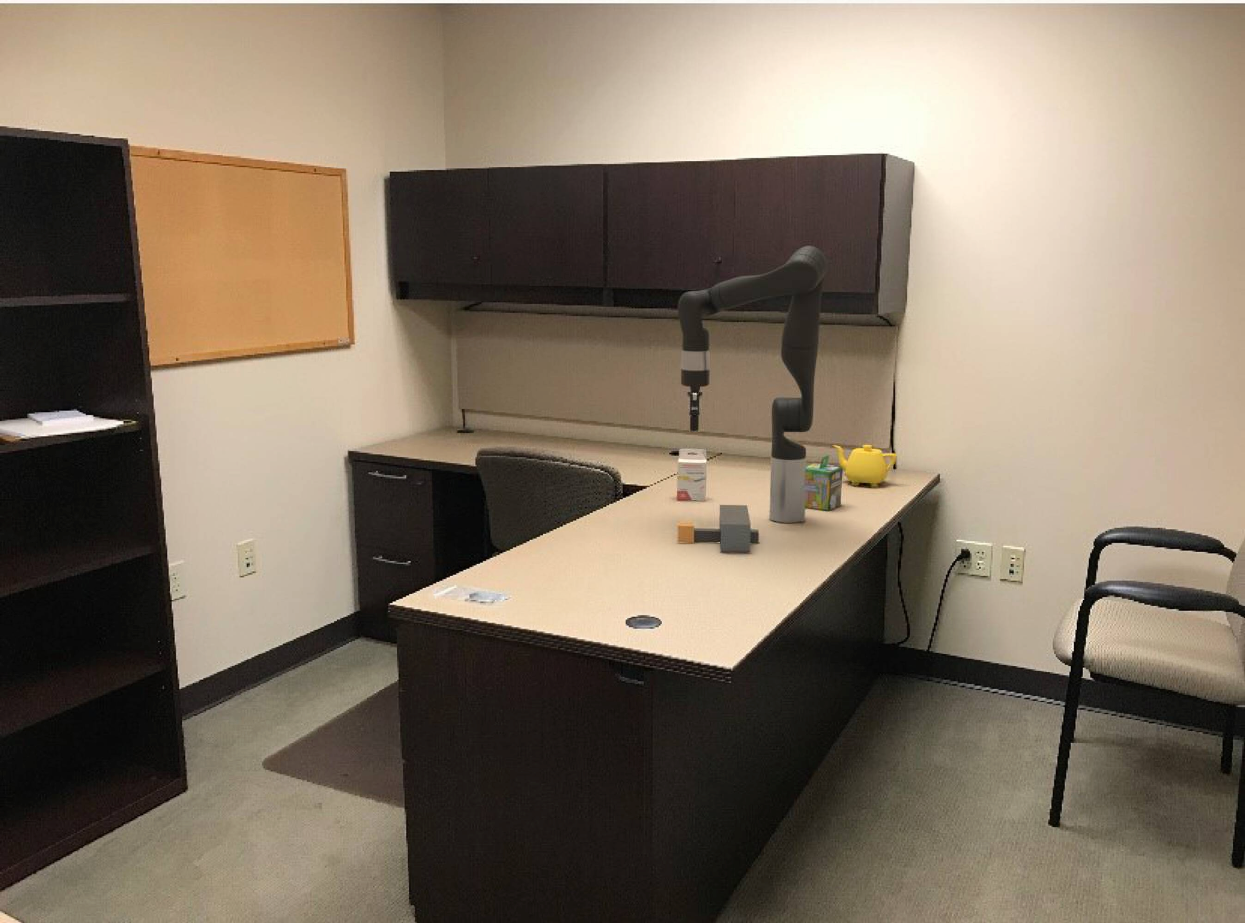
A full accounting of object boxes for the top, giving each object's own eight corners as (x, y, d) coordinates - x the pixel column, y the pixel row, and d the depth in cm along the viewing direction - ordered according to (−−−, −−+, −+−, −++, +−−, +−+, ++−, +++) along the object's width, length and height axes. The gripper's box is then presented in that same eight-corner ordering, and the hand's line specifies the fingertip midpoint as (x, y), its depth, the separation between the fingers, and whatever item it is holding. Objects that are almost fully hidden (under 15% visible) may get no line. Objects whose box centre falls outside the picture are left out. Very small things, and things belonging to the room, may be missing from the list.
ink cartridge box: (676, 500, 299) (677, 451, 296) (677, 496, 304) (677, 448, 301) (705, 501, 298) (706, 452, 295) (706, 497, 303) (707, 448, 300)
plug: (757, 540, 257) (758, 523, 256) (758, 544, 252) (759, 527, 252) (678, 538, 258) (678, 521, 257) (677, 543, 254) (677, 525, 253)
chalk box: (812, 501, 299) (814, 451, 296) (841, 505, 294) (844, 454, 291) (798, 507, 291) (800, 456, 288) (829, 511, 286) (831, 459, 283)
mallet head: (746, 531, 265) (746, 505, 263) (749, 552, 245) (750, 524, 244) (719, 530, 265) (719, 504, 264) (720, 552, 246) (721, 524, 244)
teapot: (834, 477, 332) (835, 439, 330) (897, 481, 325) (899, 443, 323) (828, 485, 320) (829, 446, 317) (893, 490, 313) (895, 450, 311)
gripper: (709, 371, 262) (708, 433, 265) (709, 364, 276) (708, 423, 279) (680, 370, 262) (679, 432, 266) (681, 364, 276) (680, 423, 280)
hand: (694, 428), depth 272 cm, fingers open, 8 cm apart
